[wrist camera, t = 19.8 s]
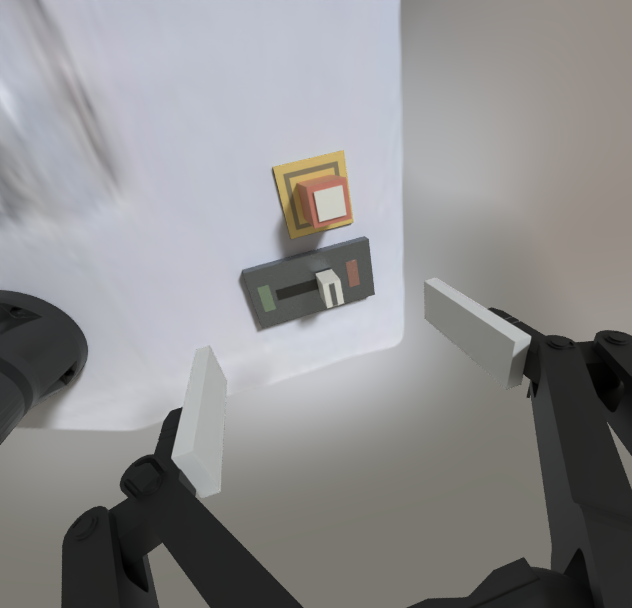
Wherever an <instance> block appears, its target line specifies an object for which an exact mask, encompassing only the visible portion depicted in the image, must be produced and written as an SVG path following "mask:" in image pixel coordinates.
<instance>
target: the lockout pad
mask: <svg viewBox="0 0 632 608" xmlns="http://www.w3.org/2000/svg"><path fill="white" fill-rule="evenodd" d="M273 170H274V174H275V178H276V182H277V186H278V190H279V194H280V198H281V202H282V206H283V210H284V214H285V218H286V222H287V226H288V230H289V234H290V238H291V239H294V238H297V237H301V236H305V235H308V234H312V233H316V232H320V231H323V230H327V229H331V228H335V227H338V226H342V225H346V224H350V223H353V215H352V208H351V200H350V193H349V185H348V178H347V171H346V163H345V156H344V150H342V151H338V152H334V153H330V154H325V155H321V156H317V157H313V158H309V159H304V160H300V161H296V162H292V163H288V164H283V165H279V166H275V167H273ZM327 175H337V176H342V177H346V180H347V187H348V195H349V202H350V209H351V217H352V219H349V220H345V221H341V222H338V223H334V224H330V225H326V226H323V227H319V228H314V227H313V226H312V225H310V224H309V223H308V222H307V221H306V220H305V219H304V214H303V210H302V205H301V200H300V196H299V191H298V187H297V183H298V182H302V181H306V180H310V179H314V178H318V177H322V176H327Z"/></svg>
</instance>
